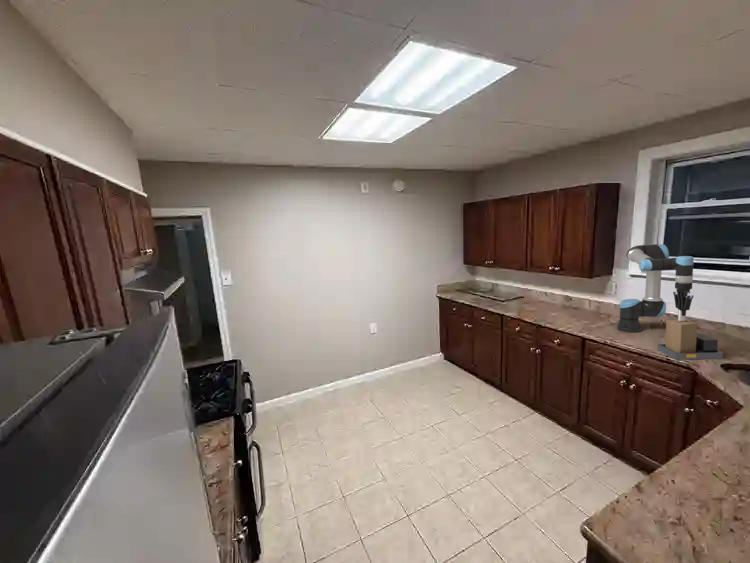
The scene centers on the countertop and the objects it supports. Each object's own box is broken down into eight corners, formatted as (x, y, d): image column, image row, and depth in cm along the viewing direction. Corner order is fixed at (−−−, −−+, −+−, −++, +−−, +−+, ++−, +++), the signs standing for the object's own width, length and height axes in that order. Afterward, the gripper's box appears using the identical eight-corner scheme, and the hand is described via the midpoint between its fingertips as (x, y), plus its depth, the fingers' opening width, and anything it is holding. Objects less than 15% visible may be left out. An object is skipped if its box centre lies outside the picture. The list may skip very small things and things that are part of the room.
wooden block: (680, 349, 206) (681, 318, 203) (696, 355, 196) (697, 323, 194) (664, 350, 206) (666, 320, 203) (679, 356, 196) (681, 324, 193)
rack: (657, 350, 210) (658, 333, 209) (700, 349, 206) (701, 332, 205) (676, 360, 194) (677, 342, 193) (723, 359, 190) (724, 341, 189)
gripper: (668, 280, 202) (667, 317, 205) (684, 284, 189) (682, 323, 193) (682, 280, 201) (680, 317, 204) (699, 283, 188) (697, 323, 191)
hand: (681, 320), depth 198 cm, fingers closed
